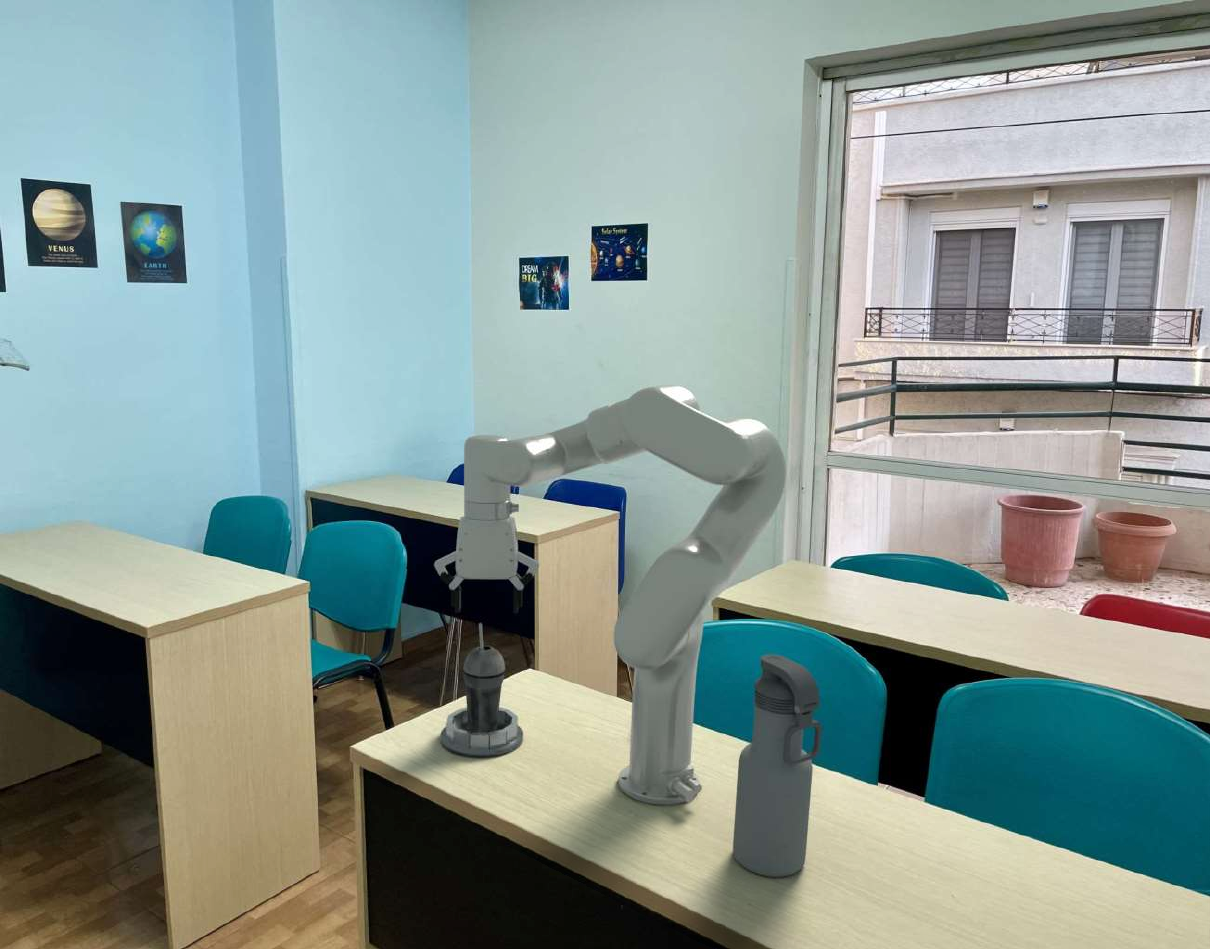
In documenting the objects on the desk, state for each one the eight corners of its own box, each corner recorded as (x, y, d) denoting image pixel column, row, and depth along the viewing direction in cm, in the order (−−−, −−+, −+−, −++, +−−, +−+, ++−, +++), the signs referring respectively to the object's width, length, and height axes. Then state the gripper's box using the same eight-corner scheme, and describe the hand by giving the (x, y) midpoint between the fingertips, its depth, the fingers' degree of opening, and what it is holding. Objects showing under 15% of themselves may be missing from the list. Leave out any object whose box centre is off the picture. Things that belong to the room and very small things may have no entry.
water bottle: (822, 868, 125) (839, 670, 121) (768, 889, 120) (784, 683, 116) (770, 832, 134) (784, 645, 129) (717, 850, 128) (730, 657, 124)
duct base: (537, 746, 158) (538, 727, 157) (461, 764, 150) (462, 744, 150) (500, 716, 169) (500, 697, 169) (427, 731, 162) (427, 712, 161)
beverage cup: (512, 734, 160) (516, 622, 156) (480, 747, 154) (483, 632, 151) (484, 720, 165) (487, 612, 161) (451, 733, 159) (454, 621, 156)
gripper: (540, 506, 158) (538, 604, 160) (436, 505, 157) (437, 604, 159) (539, 515, 150) (538, 617, 153) (431, 514, 149) (431, 617, 152)
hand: (486, 610), depth 156 cm, fingers open, 9 cm apart
